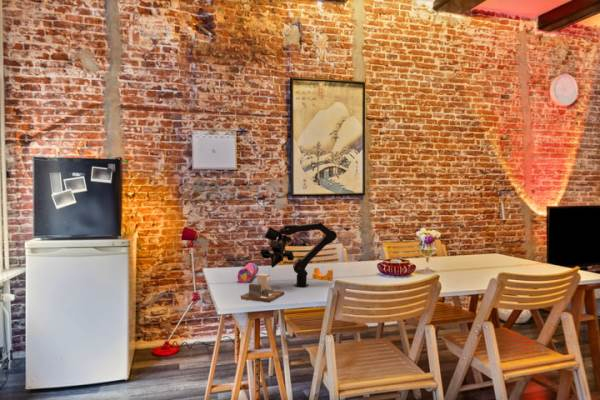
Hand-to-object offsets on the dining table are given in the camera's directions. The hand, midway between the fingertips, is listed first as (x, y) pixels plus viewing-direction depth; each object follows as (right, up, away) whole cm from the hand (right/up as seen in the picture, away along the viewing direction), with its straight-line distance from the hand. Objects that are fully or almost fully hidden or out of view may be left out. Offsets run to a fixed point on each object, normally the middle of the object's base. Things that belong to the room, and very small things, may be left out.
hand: (272, 267), depth 234 cm
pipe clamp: (+29, -13, +32) cm, 45 cm away
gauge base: (-5, -13, -11) cm, 18 cm away
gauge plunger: (-2, -11, -10) cm, 15 cm away
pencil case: (-16, -12, +28) cm, 35 cm away
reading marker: (-2, -11, -17) cm, 21 cm away
